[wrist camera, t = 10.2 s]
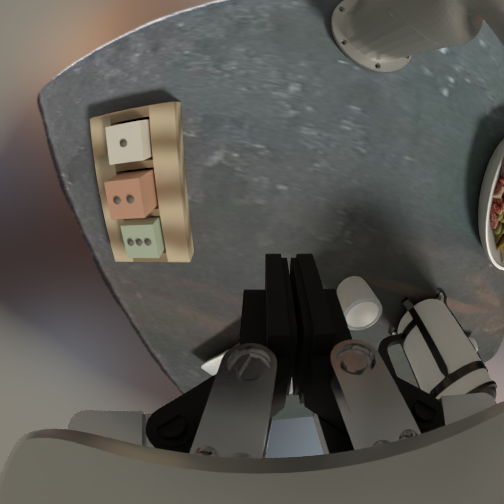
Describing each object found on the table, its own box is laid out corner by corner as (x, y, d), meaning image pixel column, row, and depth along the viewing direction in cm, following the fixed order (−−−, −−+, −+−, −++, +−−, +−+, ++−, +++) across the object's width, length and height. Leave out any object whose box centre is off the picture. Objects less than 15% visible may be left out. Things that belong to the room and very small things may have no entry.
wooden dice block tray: (100, 117, 32) (89, 118, 30) (180, 102, 32) (174, 101, 29) (122, 252, 43) (115, 261, 41) (194, 252, 43) (189, 262, 40)
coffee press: (432, 269, 43) (516, 392, 17) (452, 310, 48) (511, 413, 22) (363, 322, 50) (408, 462, 23) (393, 353, 55) (431, 464, 28)
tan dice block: (121, 172, 35) (103, 182, 30) (153, 169, 34) (138, 178, 30) (126, 206, 37) (110, 220, 32) (158, 204, 37) (144, 218, 32)
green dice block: (133, 212, 40) (119, 226, 35) (164, 211, 40) (152, 225, 35) (139, 242, 42) (127, 258, 38) (168, 242, 42) (158, 258, 37)
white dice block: (122, 124, 33) (104, 127, 28) (154, 118, 33) (139, 120, 28) (125, 157, 35) (108, 165, 31) (157, 153, 35) (143, 160, 31)
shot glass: (325, 298, 47) (333, 325, 41) (346, 267, 44) (358, 293, 37) (355, 308, 48) (366, 334, 42) (376, 280, 45) (390, 305, 39)
